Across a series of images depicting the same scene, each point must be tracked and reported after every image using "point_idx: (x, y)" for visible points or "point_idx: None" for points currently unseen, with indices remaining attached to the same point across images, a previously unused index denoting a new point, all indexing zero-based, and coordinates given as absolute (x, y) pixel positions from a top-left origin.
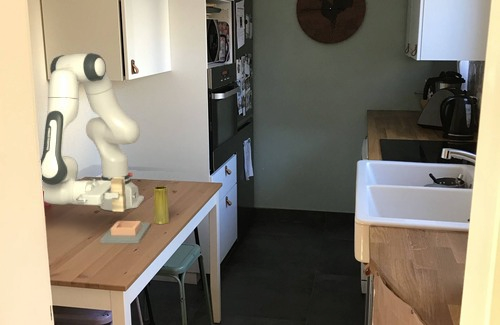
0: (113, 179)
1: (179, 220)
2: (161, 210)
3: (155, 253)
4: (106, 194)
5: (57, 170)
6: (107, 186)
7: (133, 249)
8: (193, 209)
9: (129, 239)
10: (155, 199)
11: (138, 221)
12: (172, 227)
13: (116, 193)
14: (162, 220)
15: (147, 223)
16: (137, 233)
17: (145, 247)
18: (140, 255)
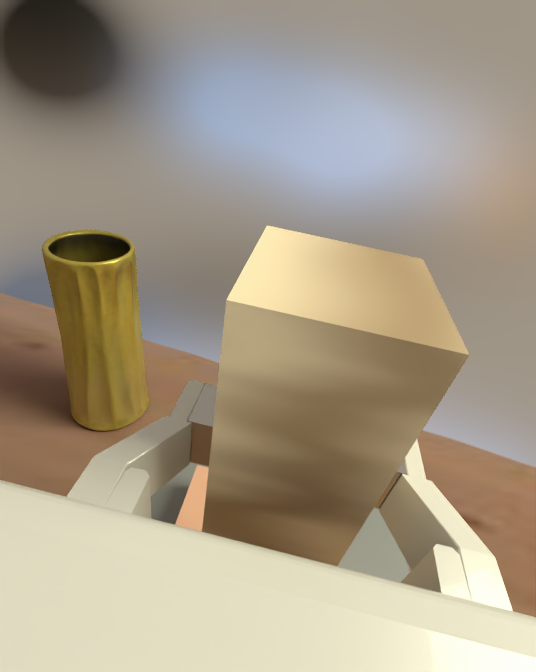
0: (412, 318)
1: None
2: (141, 355)
3: (480, 449)
4: (492, 590)
5: None
6: (145, 572)
7: None
8: (12, 303)
9: (386, 549)
10: (111, 323)
11: (201, 477)
12: (203, 378)
13: (417, 445)
14: (145, 391)
15: None
16: None
17: (432, 481)
18: (522, 502)
